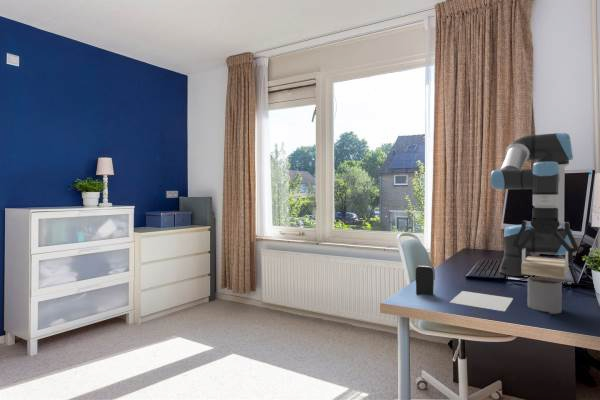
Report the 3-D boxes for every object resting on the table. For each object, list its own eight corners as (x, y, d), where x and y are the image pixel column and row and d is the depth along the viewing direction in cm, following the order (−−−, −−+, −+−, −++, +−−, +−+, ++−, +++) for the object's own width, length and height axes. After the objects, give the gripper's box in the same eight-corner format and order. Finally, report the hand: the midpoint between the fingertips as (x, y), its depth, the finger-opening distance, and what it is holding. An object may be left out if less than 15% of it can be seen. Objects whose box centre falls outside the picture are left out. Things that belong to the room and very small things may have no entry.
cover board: (527, 265, 145) (527, 256, 145) (566, 269, 138) (566, 259, 138) (521, 274, 132) (521, 263, 132) (564, 278, 125) (564, 267, 125)
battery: (435, 294, 153) (435, 265, 152) (433, 297, 150) (433, 267, 149) (417, 292, 157) (417, 264, 156) (415, 294, 153) (415, 265, 153)
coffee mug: (564, 315, 127) (564, 284, 127) (528, 311, 132) (529, 282, 131) (557, 303, 140) (557, 275, 139) (525, 300, 144) (525, 273, 143)
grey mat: (462, 292, 155) (462, 290, 155) (513, 299, 145) (513, 298, 145) (449, 303, 141) (449, 302, 141) (504, 313, 130) (504, 311, 130)
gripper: (503, 206, 138) (503, 267, 139) (588, 208, 124) (587, 276, 125) (507, 205, 144) (507, 263, 145) (589, 207, 130) (588, 271, 131)
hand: (544, 269), depth 135 cm, fingers closed on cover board, 12 cm apart
